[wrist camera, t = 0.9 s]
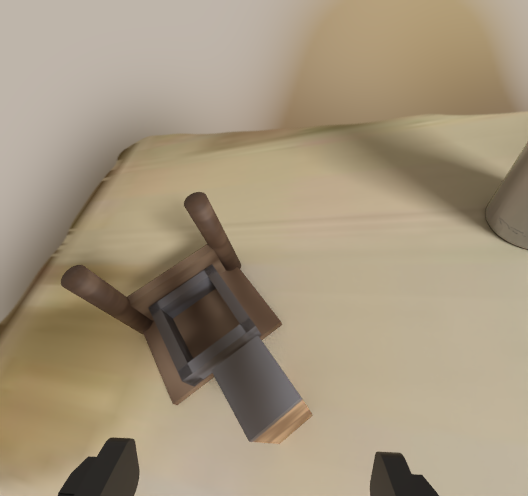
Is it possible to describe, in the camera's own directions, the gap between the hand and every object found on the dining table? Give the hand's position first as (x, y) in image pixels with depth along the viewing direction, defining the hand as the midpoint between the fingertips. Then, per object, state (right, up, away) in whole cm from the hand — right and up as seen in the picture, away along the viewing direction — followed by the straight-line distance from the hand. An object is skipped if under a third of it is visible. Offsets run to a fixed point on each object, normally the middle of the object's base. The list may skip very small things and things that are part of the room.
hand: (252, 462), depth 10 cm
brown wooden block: (+2, -8, +19) cm, 21 cm away
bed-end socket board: (-6, -2, +26) cm, 27 cm away
